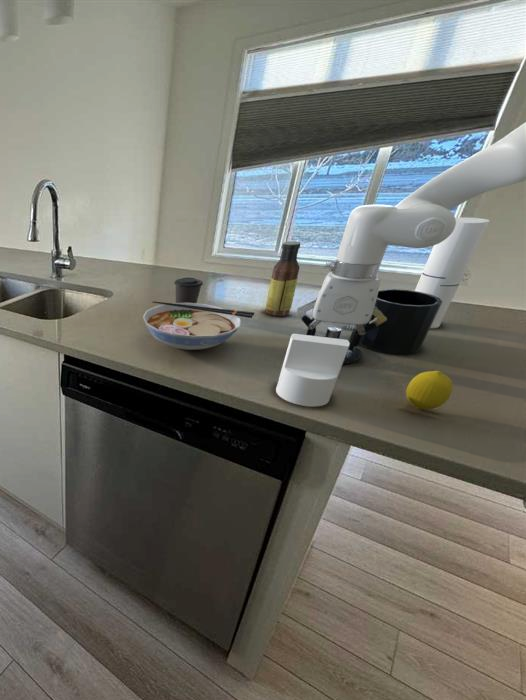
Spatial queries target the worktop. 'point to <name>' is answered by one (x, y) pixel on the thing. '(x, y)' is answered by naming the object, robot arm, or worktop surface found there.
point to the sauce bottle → (283, 281)
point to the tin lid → (350, 355)
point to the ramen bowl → (192, 324)
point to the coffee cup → (187, 290)
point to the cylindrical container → (451, 263)
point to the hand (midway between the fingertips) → (329, 345)
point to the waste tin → (401, 321)
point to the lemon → (429, 390)
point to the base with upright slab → (311, 369)
